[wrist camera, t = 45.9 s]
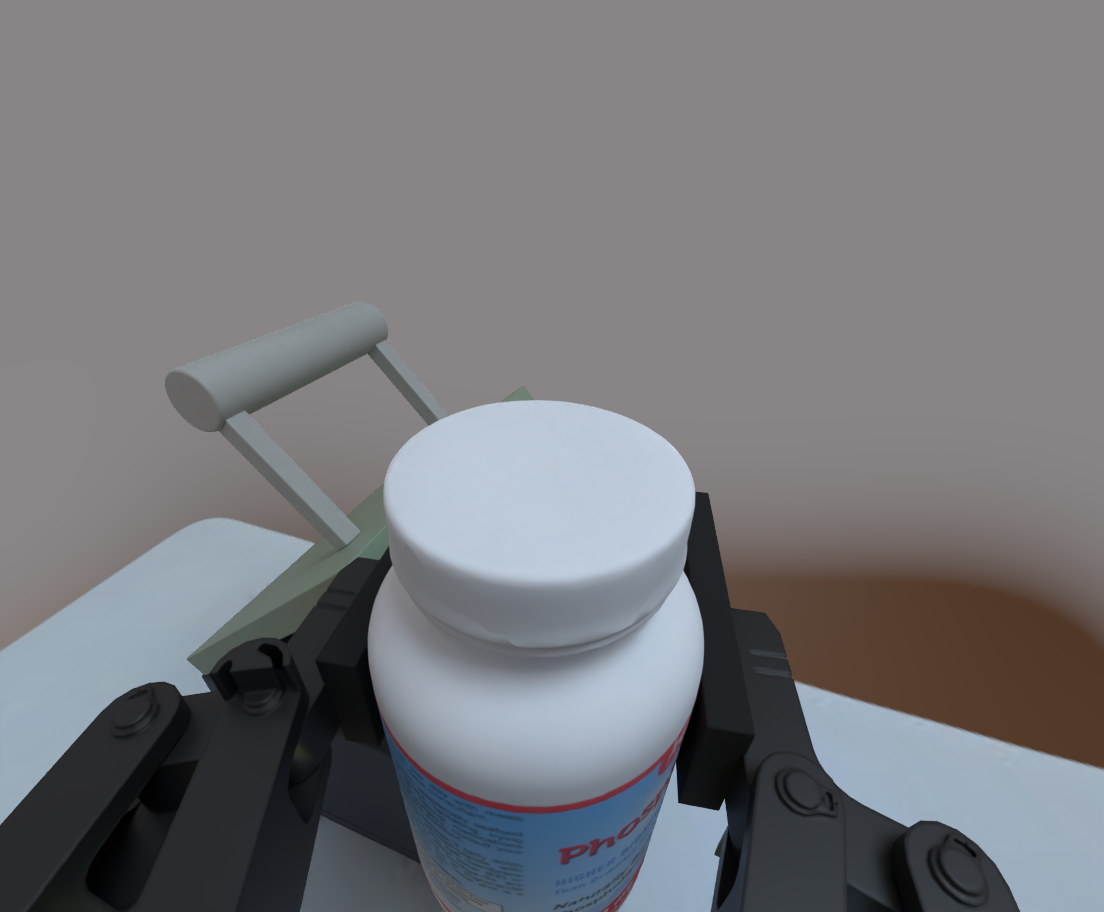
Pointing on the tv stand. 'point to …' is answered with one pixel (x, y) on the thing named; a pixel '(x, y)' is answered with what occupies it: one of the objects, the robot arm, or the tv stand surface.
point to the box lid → (252, 383)
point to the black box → (364, 791)
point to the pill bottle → (535, 650)
